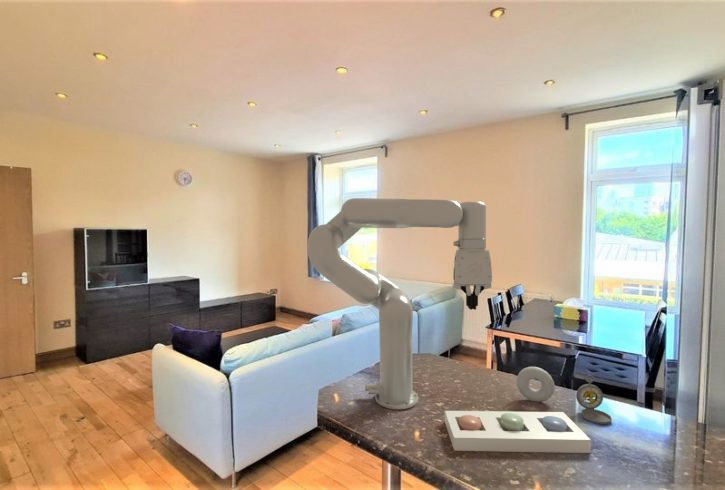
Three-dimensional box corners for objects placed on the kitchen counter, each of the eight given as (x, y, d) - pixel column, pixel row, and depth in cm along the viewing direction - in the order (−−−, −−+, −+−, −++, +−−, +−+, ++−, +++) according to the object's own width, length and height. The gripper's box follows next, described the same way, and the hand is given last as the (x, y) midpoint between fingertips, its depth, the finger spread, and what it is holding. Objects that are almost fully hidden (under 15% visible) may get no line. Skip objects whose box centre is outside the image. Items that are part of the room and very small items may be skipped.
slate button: (548, 435, 83) (548, 427, 83) (539, 423, 88) (539, 415, 88) (570, 435, 83) (570, 427, 83) (560, 424, 88) (560, 416, 88)
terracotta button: (461, 434, 84) (461, 425, 84) (457, 422, 89) (457, 414, 89) (483, 434, 84) (483, 426, 84) (477, 423, 89) (477, 415, 89)
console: (454, 450, 81) (454, 437, 81) (444, 421, 93) (444, 410, 93) (590, 453, 80) (590, 439, 79) (563, 423, 92) (563, 412, 91)
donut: (554, 401, 103) (554, 367, 102) (554, 407, 100) (555, 372, 99) (516, 395, 107) (516, 362, 107) (515, 400, 104) (516, 366, 104)
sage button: (505, 432, 84) (505, 423, 84) (498, 420, 89) (498, 412, 89) (526, 432, 84) (526, 424, 83) (518, 421, 89) (518, 413, 88)
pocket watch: (602, 428, 89) (602, 388, 89) (569, 413, 97) (569, 376, 96) (620, 419, 93) (621, 382, 93) (587, 405, 100) (588, 370, 100)
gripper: (448, 246, 99) (448, 311, 100) (503, 245, 98) (502, 311, 99) (443, 244, 107) (443, 305, 107) (494, 244, 106) (494, 305, 107)
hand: (472, 308), depth 103 cm, fingers closed
